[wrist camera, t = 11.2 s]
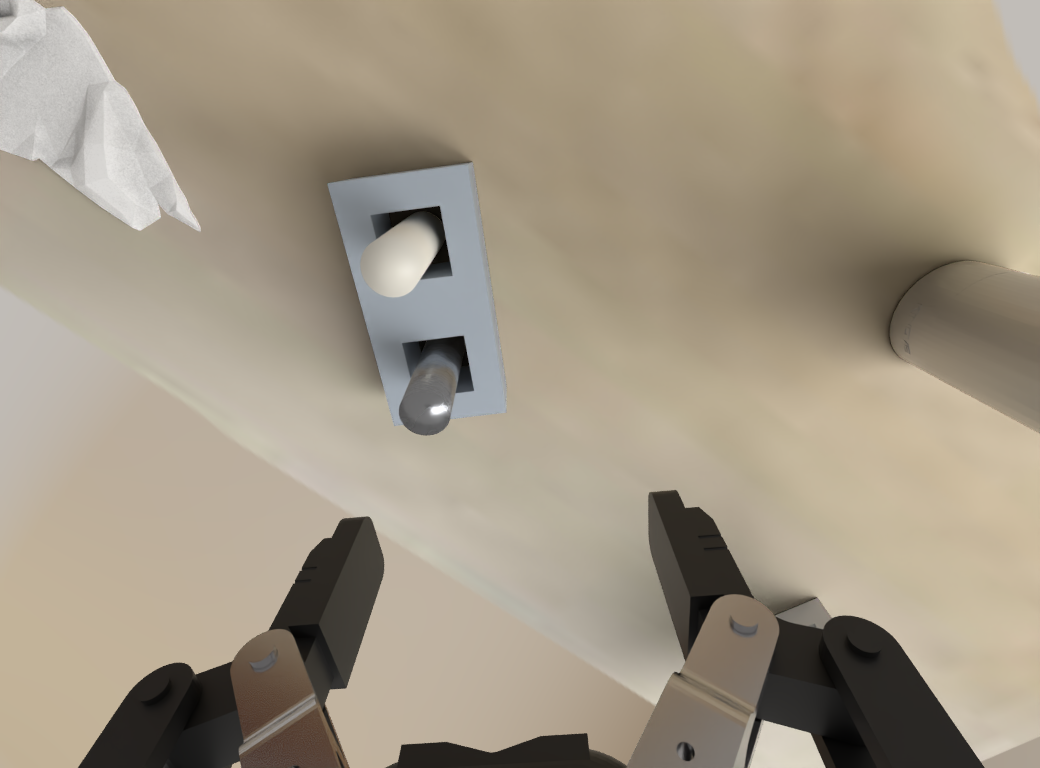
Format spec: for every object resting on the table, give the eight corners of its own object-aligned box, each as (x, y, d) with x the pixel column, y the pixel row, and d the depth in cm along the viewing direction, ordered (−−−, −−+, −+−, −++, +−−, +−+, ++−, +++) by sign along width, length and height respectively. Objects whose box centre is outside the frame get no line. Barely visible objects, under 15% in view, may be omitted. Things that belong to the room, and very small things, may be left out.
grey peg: (461, 323, 40) (445, 387, 30) (468, 358, 42) (454, 432, 31) (423, 328, 40) (393, 394, 30) (431, 363, 42) (405, 438, 31)
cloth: (256, 184, 36) (241, 186, 34) (151, 302, 40) (132, 311, 38) (-137, -202, 27) (-190, -231, 25) (-226, -3, 31) (-279, -14, 28)
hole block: (472, 162, 35) (467, 164, 30) (506, 384, 43) (506, 412, 38) (349, 178, 35) (327, 183, 31) (405, 396, 43) (394, 425, 39)
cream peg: (440, 208, 36) (413, 234, 26) (448, 251, 38) (425, 293, 27) (398, 214, 36) (353, 242, 26) (408, 257, 38) (368, 300, 27)
